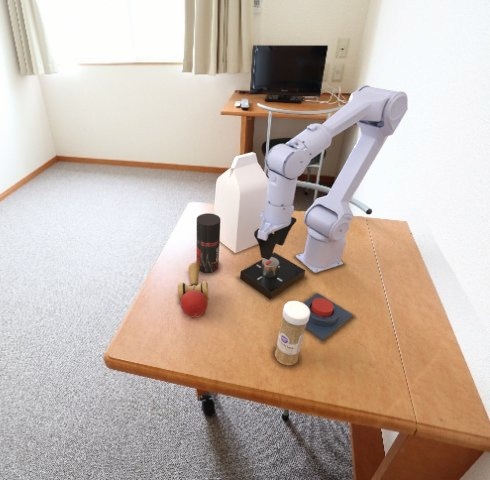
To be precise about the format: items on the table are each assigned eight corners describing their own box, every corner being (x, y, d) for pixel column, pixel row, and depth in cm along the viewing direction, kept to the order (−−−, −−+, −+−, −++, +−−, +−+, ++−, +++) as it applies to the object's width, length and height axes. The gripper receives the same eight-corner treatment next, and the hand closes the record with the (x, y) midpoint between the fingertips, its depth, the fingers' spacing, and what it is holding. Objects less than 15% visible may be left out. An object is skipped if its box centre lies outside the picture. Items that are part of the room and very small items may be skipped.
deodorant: (217, 274, 92) (219, 226, 84) (195, 272, 93) (194, 224, 85) (219, 261, 97) (221, 214, 88) (198, 259, 98) (198, 212, 90)
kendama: (176, 276, 94) (173, 319, 78) (180, 256, 91) (178, 296, 75) (205, 280, 94) (208, 324, 78) (209, 260, 91) (213, 301, 75)
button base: (317, 295, 84) (319, 287, 83) (352, 317, 78) (355, 309, 77) (287, 316, 79) (289, 308, 78) (322, 341, 73) (325, 333, 71)
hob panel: (273, 259, 96) (274, 251, 95) (304, 277, 90) (305, 269, 88) (239, 278, 90) (240, 270, 89) (269, 299, 84) (271, 291, 82)
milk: (235, 253, 100) (241, 167, 85) (211, 234, 108) (213, 153, 94) (267, 240, 104) (278, 156, 90) (242, 223, 113) (248, 144, 98)
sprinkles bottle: (270, 358, 70) (279, 310, 62) (280, 344, 73) (290, 296, 65) (292, 370, 67) (304, 322, 60) (302, 355, 70) (314, 307, 63)
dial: (268, 265, 90) (269, 253, 88) (280, 273, 87) (282, 261, 85) (257, 272, 88) (259, 259, 86) (269, 280, 86) (271, 267, 83)
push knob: (318, 300, 80) (320, 295, 79) (336, 311, 77) (337, 306, 76) (306, 308, 78) (308, 303, 77) (324, 320, 75) (325, 315, 74)
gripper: (276, 184, 83) (270, 232, 91) (247, 208, 74) (242, 259, 82) (306, 191, 79) (296, 241, 87) (278, 218, 70) (270, 270, 78)
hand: (272, 250), depth 84 cm, fingers open, 6 cm apart
